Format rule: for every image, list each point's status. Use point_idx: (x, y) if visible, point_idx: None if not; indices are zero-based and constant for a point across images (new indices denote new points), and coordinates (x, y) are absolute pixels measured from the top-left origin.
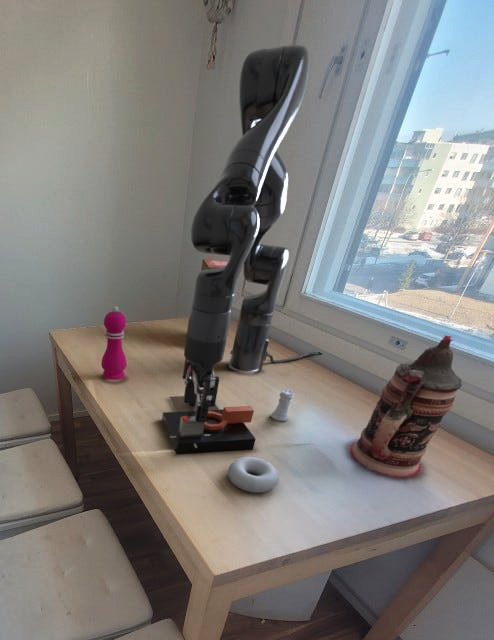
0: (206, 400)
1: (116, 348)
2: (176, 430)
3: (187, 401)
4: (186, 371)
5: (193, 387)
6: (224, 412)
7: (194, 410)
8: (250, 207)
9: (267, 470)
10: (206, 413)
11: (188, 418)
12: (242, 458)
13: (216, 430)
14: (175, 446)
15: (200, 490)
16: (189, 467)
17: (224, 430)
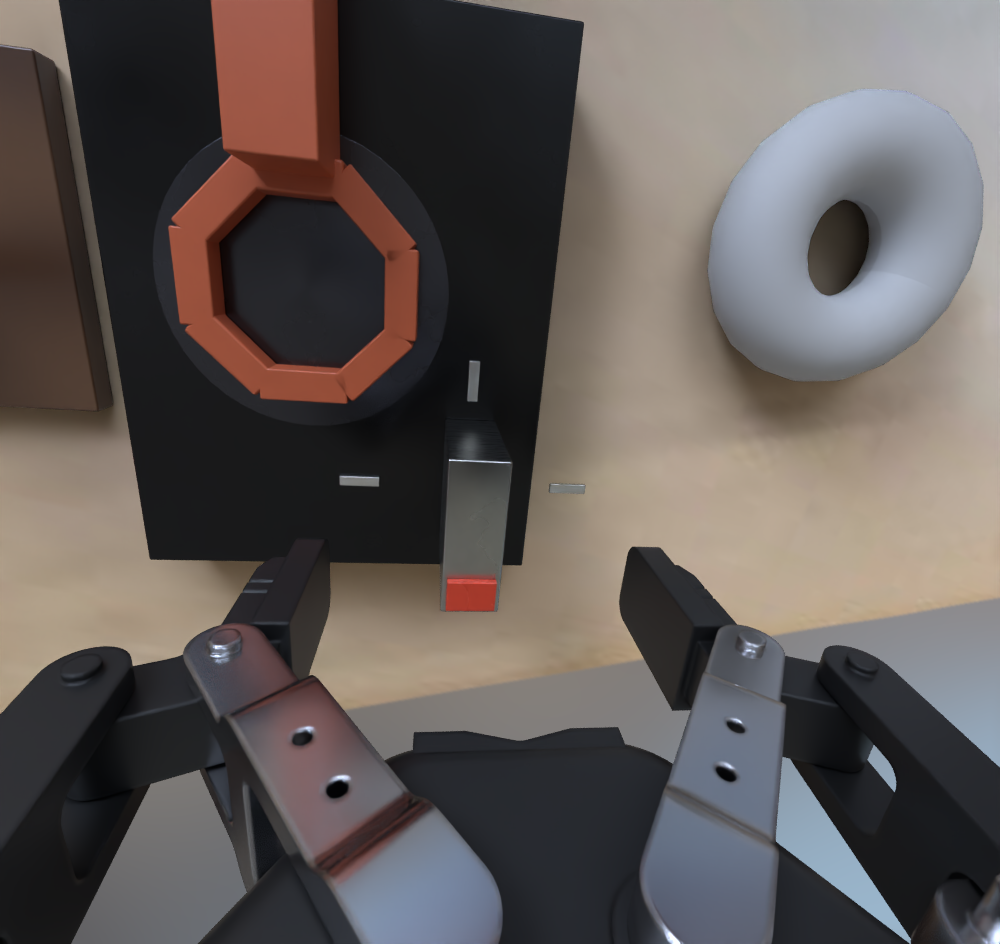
0: (824, 743)
1: None
2: (388, 538)
3: (325, 590)
4: (99, 859)
5: (291, 648)
6: (278, 163)
7: (16, 277)
8: None
9: (914, 174)
10: (716, 606)
11: (472, 572)
12: (770, 275)
13: (425, 291)
14: None
15: (773, 509)
16: (618, 503)
17: (434, 230)
